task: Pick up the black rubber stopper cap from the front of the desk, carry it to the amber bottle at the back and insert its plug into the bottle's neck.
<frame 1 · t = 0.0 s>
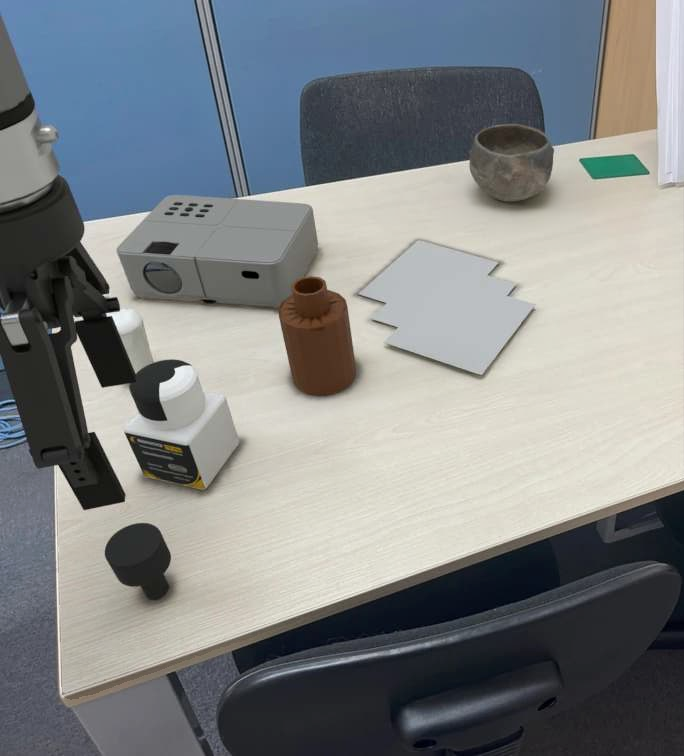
hand: (113, 437, 56), 16 cm above the table, tool pointing down, fingers open, 13 cm apart
stopper: (157, 590, 64), on the table
medicine bottle: (194, 461, 75), on the table
paper stack: (446, 302, 99), on the table
projector: (231, 274, 102), on the table
bottle: (324, 375, 86), on the table
milkshake: (141, 376, 85), on the table
bowl: (510, 193, 124), on the table
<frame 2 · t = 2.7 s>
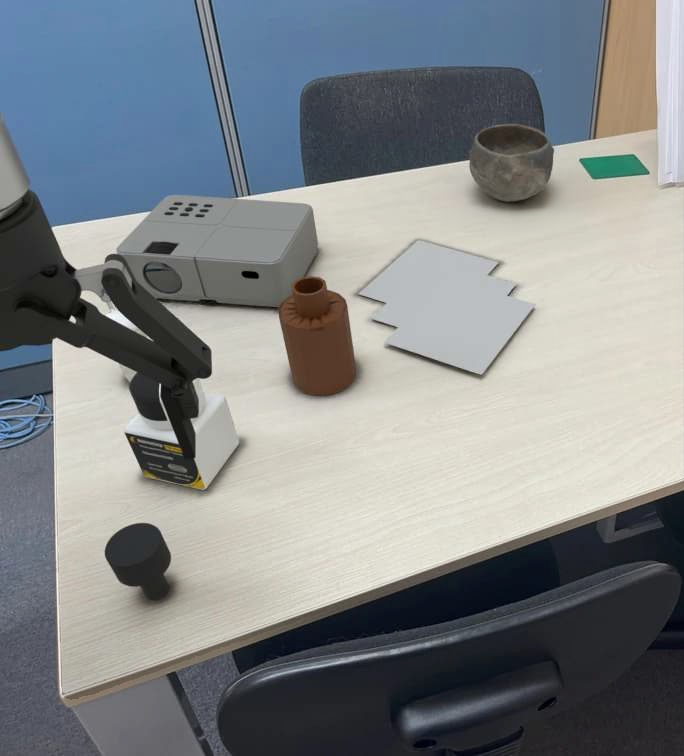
hand: (93, 465, 53), 17 cm above the table, tool pointing down, fingers open, 13 cm apart
nothing on the table moved.
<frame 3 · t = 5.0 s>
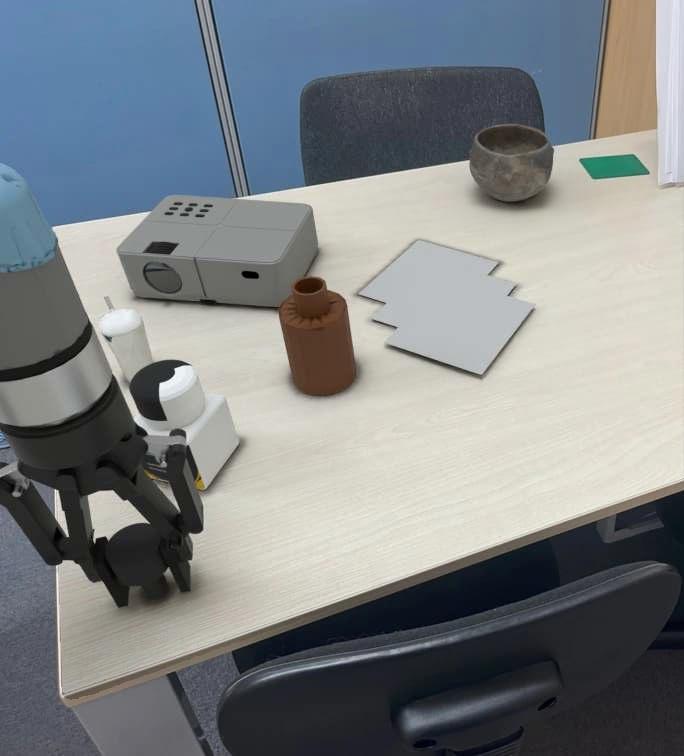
hand: (155, 586, 63), 1 cm above the table, tool pointing down, fingers closed on stopper, 4 cm apart
stopper: (157, 590, 64), on the table, touching gripper
everything else where it was.
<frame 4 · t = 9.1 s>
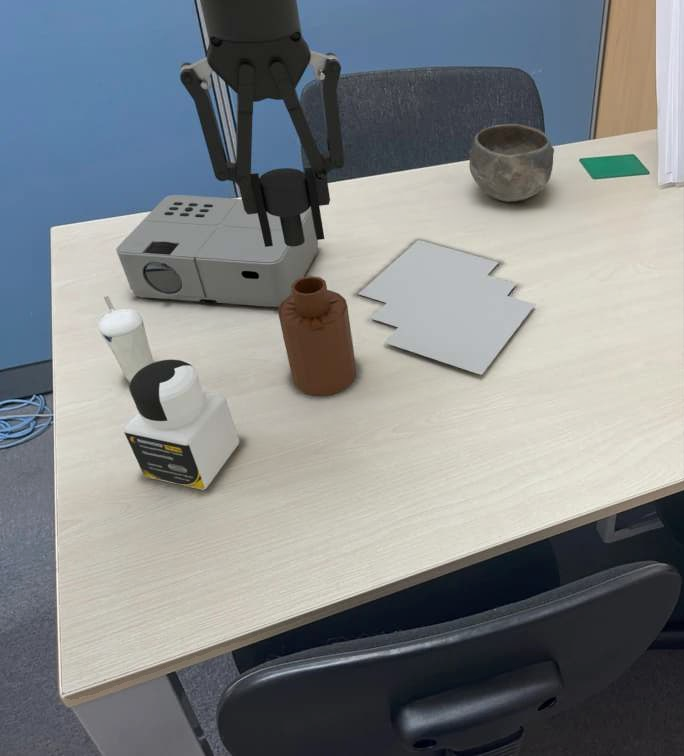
hand: (293, 236, 72), 20 cm above the table, tool pointing down, fingers closed on stopper, 4 cm apart
stopper: (294, 241, 73), point 19 cm above the table, touching gripper
everything else where it was.
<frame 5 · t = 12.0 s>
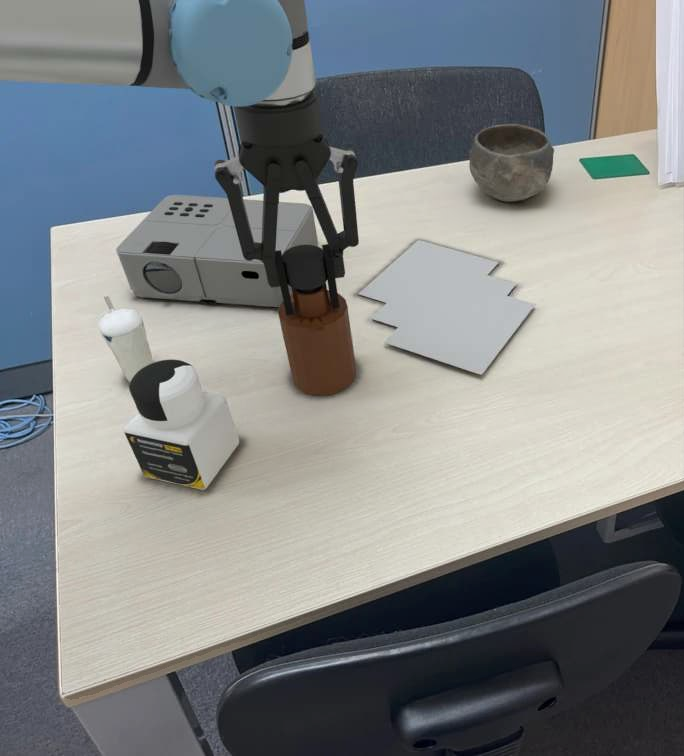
hand: (311, 304, 79), 11 cm above the table, tool pointing down, fingers closed on stopper, 4 cm apart
stopper: (312, 309, 80), point 10 cm above the table, touching gripper
everything else where it was.
when the fingers open (10 cm above the table, at t = 13.4 s): stopper stays where it is, resting on bottle.
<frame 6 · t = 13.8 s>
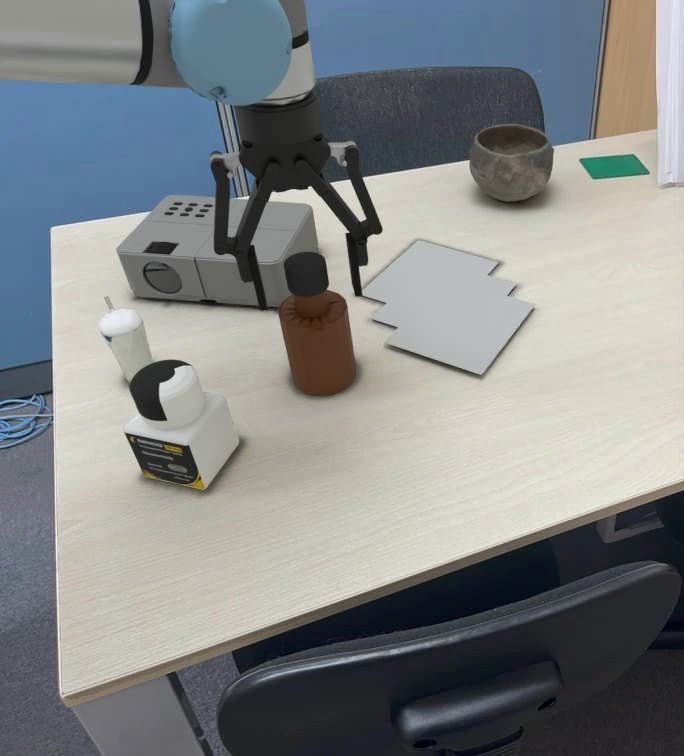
hand: (310, 296, 79), 12 cm above the table, tool pointing down, fingers open, 9 cm apart
stopper: (314, 315, 80), point 9 cm above the table, touching bottle
everything else where it was.
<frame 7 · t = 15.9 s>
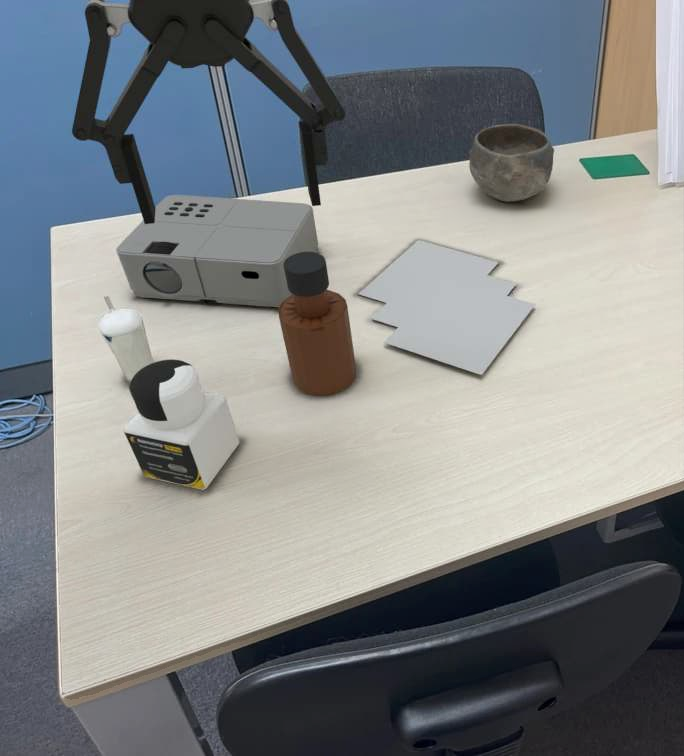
hand: (235, 207, 62), 27 cm above the table, tool pointing down, fingers open, 13 cm apart
nothing on the table moved.
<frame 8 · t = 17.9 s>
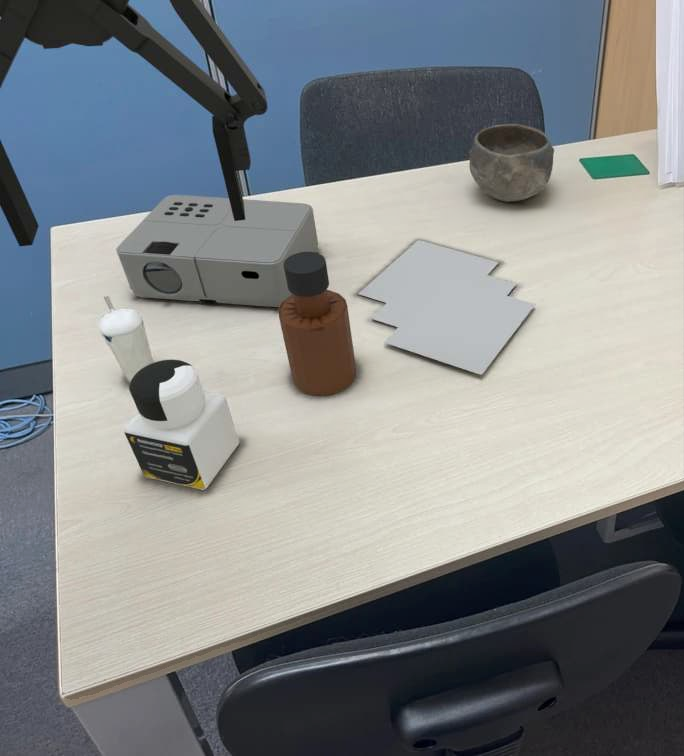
hand: (138, 223, 50), 32 cm above the table, tool pointing down, fingers open, 13 cm apart
nothing on the table moved.
at the end: stopper 0.0 cm off-centre in the bottle, point 9.0 cm above the bottle's base; stopper tilted 0° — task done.
